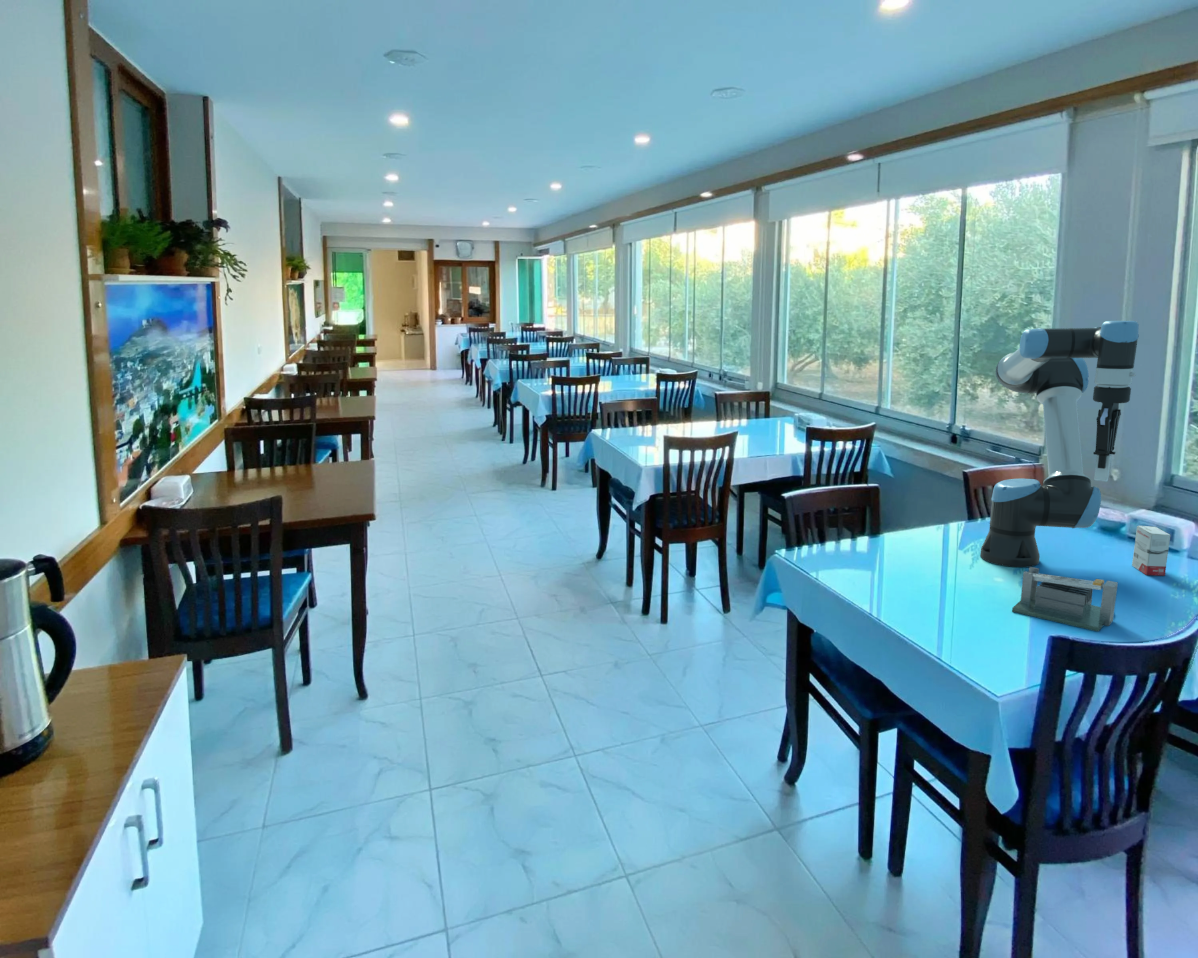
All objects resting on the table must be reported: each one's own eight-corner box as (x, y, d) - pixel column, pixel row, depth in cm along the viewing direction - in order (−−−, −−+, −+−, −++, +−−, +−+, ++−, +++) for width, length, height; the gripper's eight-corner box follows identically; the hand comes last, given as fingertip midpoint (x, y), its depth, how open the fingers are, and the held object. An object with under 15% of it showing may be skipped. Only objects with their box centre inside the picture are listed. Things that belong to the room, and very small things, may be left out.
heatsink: (1012, 611, 186) (1015, 574, 184) (1029, 595, 195) (1033, 560, 193) (1103, 632, 173) (1108, 593, 170) (1117, 614, 182) (1122, 576, 180)
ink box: (1166, 576, 206) (1172, 534, 204) (1145, 575, 207) (1151, 533, 205) (1150, 566, 215) (1156, 525, 212) (1130, 565, 216) (1136, 524, 213)
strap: (1025, 579, 187) (1026, 573, 187) (1030, 576, 189) (1030, 569, 189) (1100, 590, 176) (1100, 583, 176) (1104, 586, 179) (1104, 579, 178)
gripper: (1124, 389, 179) (1112, 487, 184) (1137, 384, 188) (1124, 477, 193) (1087, 387, 184) (1076, 482, 189) (1101, 382, 193) (1090, 473, 198)
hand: (1101, 480), depth 191 cm, fingers closed
